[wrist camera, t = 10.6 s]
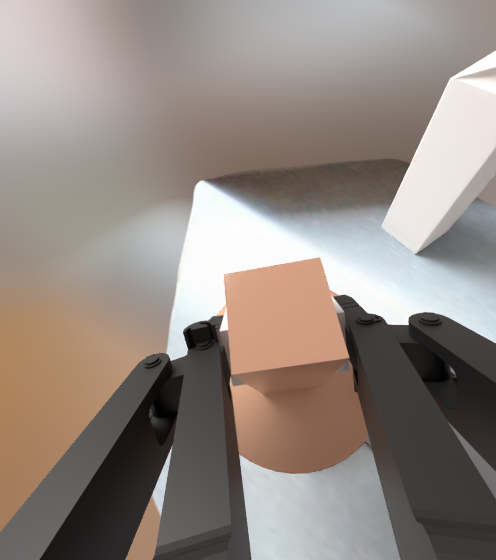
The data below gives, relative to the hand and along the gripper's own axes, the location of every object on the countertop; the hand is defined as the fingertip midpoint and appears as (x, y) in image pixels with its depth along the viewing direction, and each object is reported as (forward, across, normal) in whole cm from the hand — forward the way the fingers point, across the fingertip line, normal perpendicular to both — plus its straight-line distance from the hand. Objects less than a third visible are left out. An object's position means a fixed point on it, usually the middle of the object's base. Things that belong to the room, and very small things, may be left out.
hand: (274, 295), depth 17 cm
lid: (-1, 0, -5) cm, 5 cm away
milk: (+22, +21, -2) cm, 30 cm away
